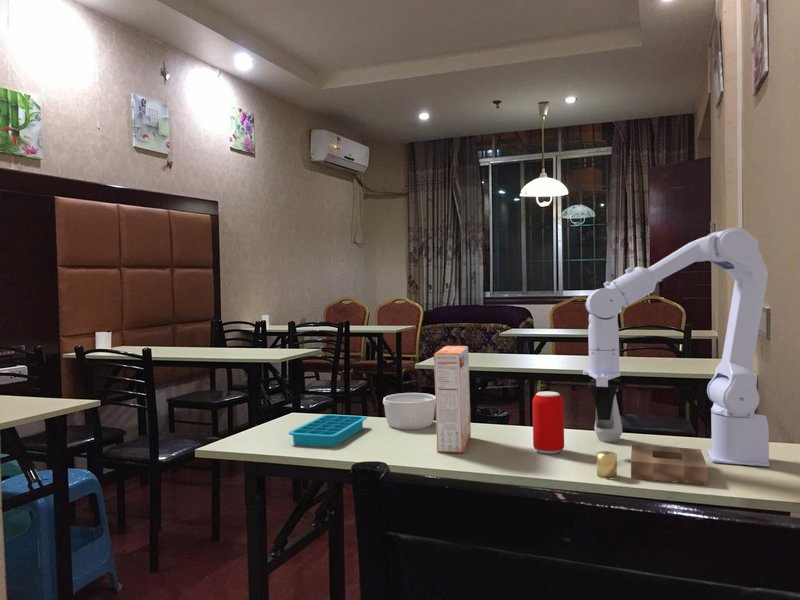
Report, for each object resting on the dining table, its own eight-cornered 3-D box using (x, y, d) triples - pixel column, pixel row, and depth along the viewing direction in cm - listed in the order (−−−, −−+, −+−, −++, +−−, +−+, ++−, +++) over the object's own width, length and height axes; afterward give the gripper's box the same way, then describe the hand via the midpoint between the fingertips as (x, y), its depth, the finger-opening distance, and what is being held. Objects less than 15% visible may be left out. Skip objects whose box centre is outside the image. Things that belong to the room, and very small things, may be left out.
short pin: (617, 474, 107) (617, 452, 107) (616, 480, 104) (616, 457, 104) (597, 472, 108) (597, 450, 108) (596, 478, 105) (596, 455, 105)
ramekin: (384, 432, 142) (383, 403, 142) (382, 420, 155) (382, 393, 155) (439, 430, 143) (438, 401, 143) (433, 418, 156) (433, 392, 156)
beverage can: (535, 446, 127) (534, 390, 126) (565, 448, 125) (564, 391, 124) (531, 454, 121) (530, 395, 121) (563, 456, 119) (562, 396, 119)
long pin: (614, 425, 119) (613, 391, 119) (613, 429, 116) (613, 394, 116) (596, 424, 121) (595, 390, 121) (595, 428, 118) (594, 393, 117)
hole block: (700, 465, 111) (700, 449, 111) (707, 485, 100) (707, 467, 100) (632, 459, 116) (631, 444, 116) (631, 478, 105) (630, 461, 105)
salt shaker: (624, 443, 127) (623, 383, 127) (596, 442, 128) (595, 382, 128) (619, 437, 133) (619, 378, 133) (593, 436, 134) (592, 378, 134)
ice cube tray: (368, 428, 147) (368, 416, 147) (334, 450, 128) (334, 436, 128) (325, 425, 151) (325, 414, 151) (286, 446, 132) (286, 433, 132)
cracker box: (445, 436, 137) (443, 345, 136) (471, 437, 135) (469, 345, 135) (434, 452, 123) (432, 352, 123) (463, 454, 122) (461, 352, 121)
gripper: (585, 345, 126) (586, 409, 127) (579, 352, 113) (580, 424, 113) (621, 345, 124) (622, 411, 124) (618, 353, 110) (620, 426, 111)
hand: (604, 417), depth 118 cm, fingers closed on long pin, 3 cm apart
